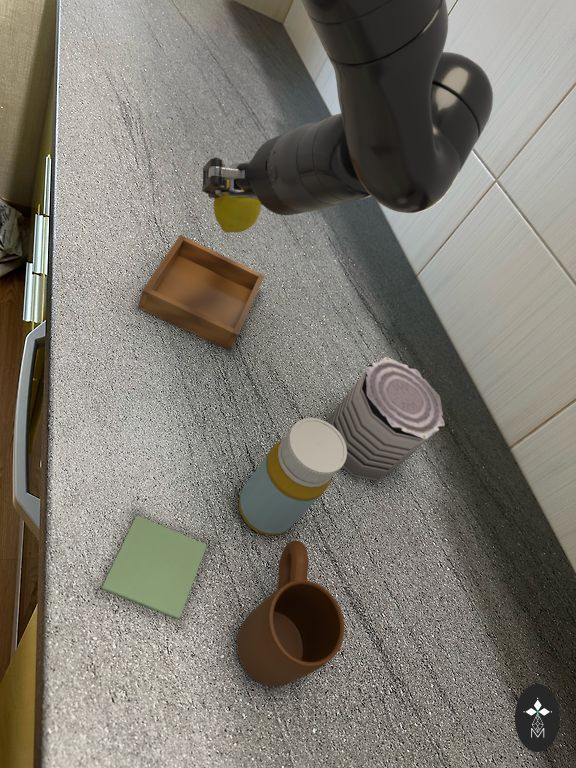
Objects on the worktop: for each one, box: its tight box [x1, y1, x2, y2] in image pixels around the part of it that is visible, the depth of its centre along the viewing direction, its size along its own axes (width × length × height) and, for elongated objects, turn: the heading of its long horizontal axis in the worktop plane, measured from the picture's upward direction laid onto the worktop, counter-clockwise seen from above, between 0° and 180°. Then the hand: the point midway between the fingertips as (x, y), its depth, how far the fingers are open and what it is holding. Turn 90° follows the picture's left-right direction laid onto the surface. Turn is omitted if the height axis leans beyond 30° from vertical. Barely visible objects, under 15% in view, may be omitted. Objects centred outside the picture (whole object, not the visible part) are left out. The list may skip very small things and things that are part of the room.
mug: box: [236, 540, 345, 688], centre depth 55 cm, size 12×8×9 cm, turn 2°
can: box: [327, 356, 446, 482], centre depth 73 cm, size 11×11×12 cm
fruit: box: [213, 180, 262, 234], centre depth 68 cm, size 6×6×8 cm
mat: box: [101, 514, 208, 620], centre depth 58 cm, size 8×8×1 cm
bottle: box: [238, 417, 347, 536], centre depth 61 cm, size 7×7×15 cm
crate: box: [137, 234, 266, 352], centre depth 81 cm, size 14×14×4 cm
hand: (235, 191), depth 69 cm, fingers closed on fruit, 5 cm apart
